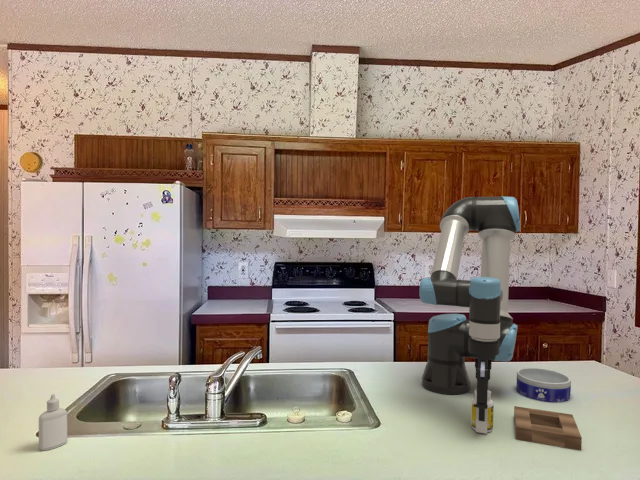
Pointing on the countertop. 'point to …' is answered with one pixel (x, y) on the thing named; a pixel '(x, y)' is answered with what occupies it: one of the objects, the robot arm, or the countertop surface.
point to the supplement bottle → (490, 411)
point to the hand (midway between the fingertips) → (481, 427)
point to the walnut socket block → (547, 427)
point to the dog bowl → (543, 384)
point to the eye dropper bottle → (52, 426)
